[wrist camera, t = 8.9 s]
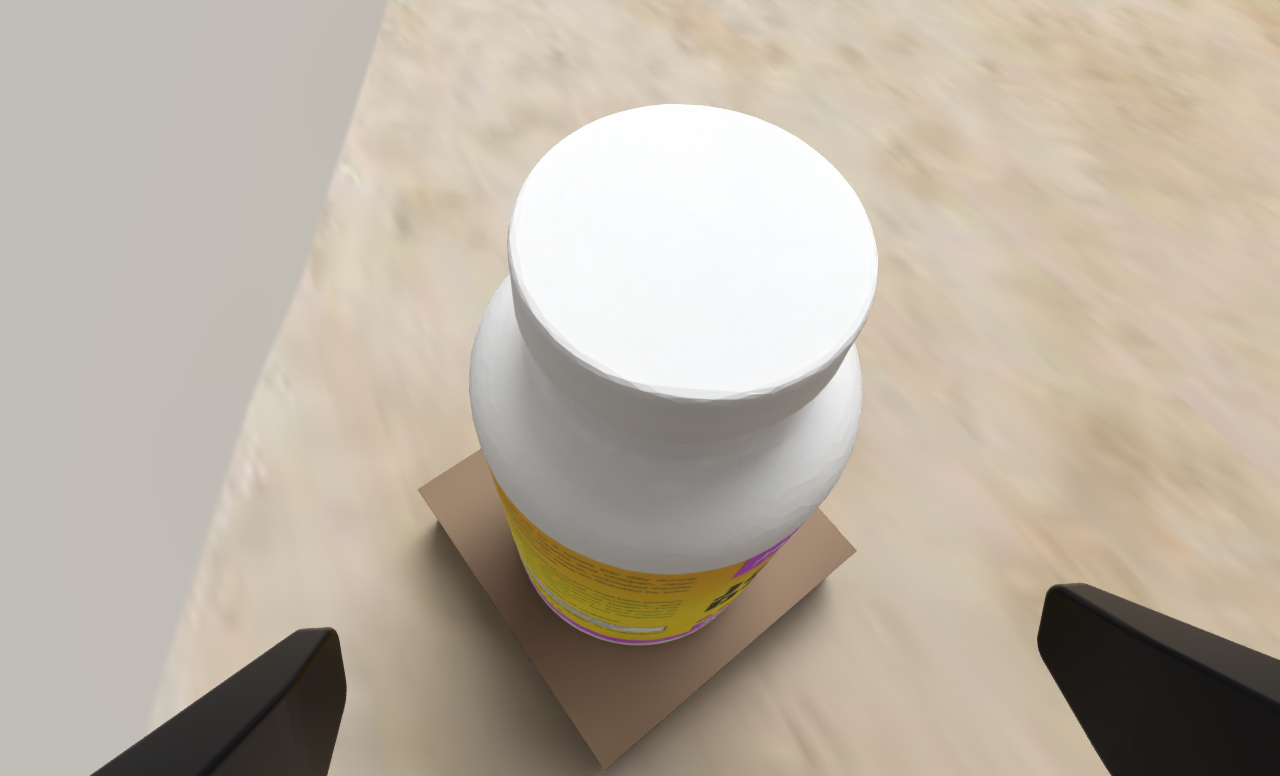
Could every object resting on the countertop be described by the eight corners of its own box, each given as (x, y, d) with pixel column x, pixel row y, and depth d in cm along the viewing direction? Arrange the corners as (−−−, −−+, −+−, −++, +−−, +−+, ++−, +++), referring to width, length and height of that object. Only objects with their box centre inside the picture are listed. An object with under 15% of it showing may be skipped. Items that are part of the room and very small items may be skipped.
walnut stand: (826, 573, 23) (856, 550, 20) (602, 766, 20) (604, 770, 17) (654, 375, 26) (661, 332, 23) (438, 519, 23) (417, 489, 20)
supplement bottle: (698, 695, 18) (872, 607, 7) (474, 581, 19) (298, 337, 8) (784, 475, 21) (1009, 153, 10) (587, 386, 22) (578, -2, 11)
